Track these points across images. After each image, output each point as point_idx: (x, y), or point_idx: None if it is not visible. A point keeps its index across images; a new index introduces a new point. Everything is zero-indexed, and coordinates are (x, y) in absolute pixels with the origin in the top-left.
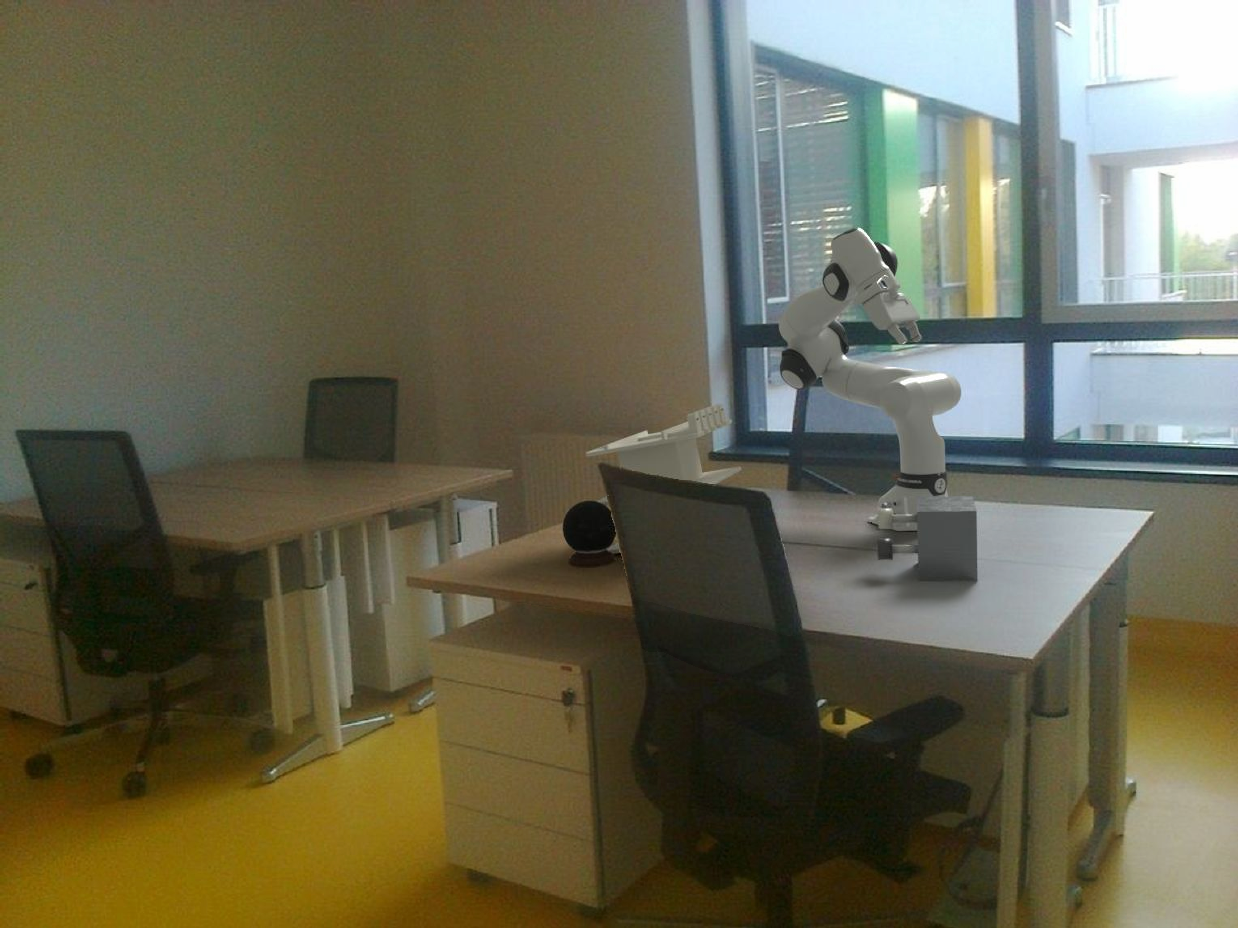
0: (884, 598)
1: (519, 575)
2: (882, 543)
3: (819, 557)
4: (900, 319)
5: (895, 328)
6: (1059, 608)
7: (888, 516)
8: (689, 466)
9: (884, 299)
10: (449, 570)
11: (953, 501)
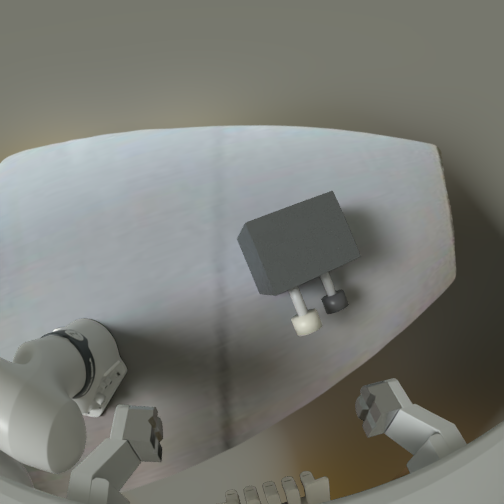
0: (386, 268)
1: None
2: (346, 300)
3: (278, 398)
4: (419, 479)
5: (449, 431)
6: (350, 136)
7: (317, 313)
8: None
9: None
10: None
11: (288, 235)
